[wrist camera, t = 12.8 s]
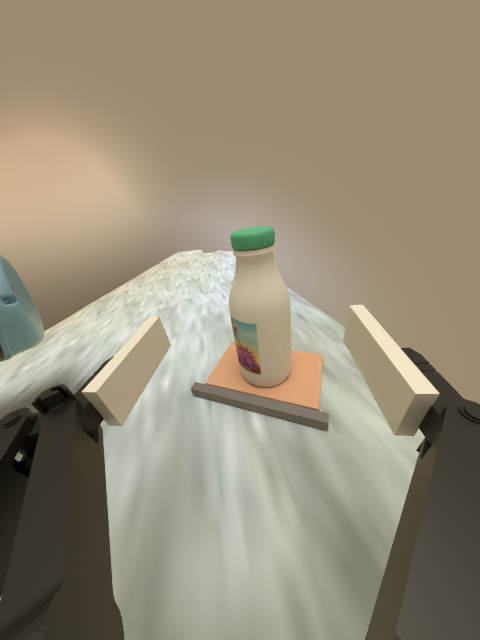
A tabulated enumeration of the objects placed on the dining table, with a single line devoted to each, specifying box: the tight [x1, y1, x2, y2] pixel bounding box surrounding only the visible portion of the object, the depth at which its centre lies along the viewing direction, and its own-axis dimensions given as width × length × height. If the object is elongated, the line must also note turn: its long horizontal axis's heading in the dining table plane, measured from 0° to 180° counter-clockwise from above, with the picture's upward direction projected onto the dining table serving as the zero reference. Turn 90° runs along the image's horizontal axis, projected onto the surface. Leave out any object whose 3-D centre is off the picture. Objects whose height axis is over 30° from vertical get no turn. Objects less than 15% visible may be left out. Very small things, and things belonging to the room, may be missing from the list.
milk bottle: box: [229, 227, 291, 387], centre depth 26 cm, size 8×8×20 cm
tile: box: [206, 343, 322, 411], centre depth 31 cm, size 16×10×1 cm, turn 69°
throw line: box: [191, 382, 329, 431], centre depth 26 cm, size 18×1×2 cm, turn 69°
